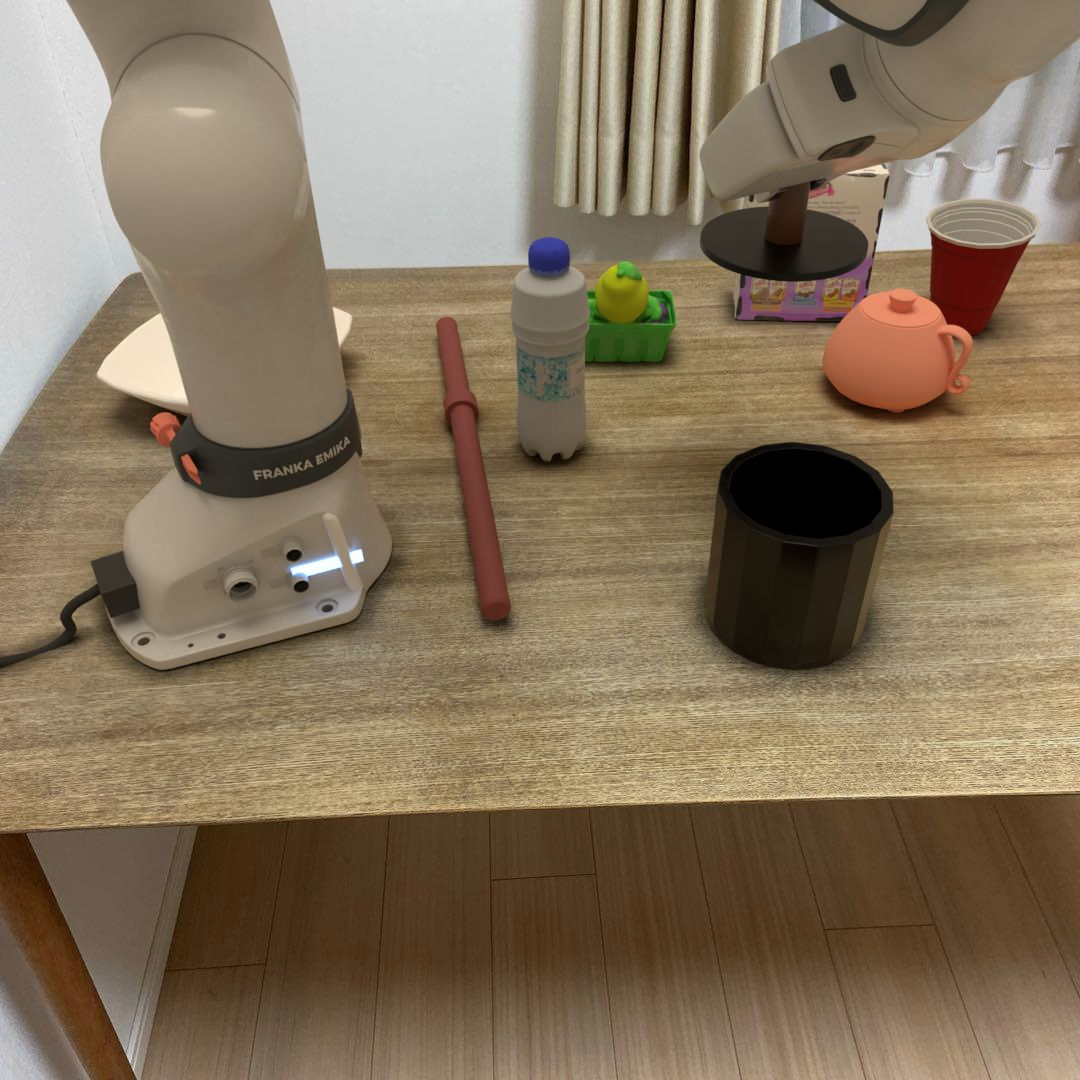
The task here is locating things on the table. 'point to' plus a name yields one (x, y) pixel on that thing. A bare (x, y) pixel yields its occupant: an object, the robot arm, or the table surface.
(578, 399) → the bottle
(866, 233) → the candy box
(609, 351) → the fruit basket
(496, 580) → the red brown collared rod
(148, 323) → the bowl
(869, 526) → the faceted dark cup
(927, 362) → the sugar bowl
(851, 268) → the lid
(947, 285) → the plastic cup
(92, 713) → the table surface
